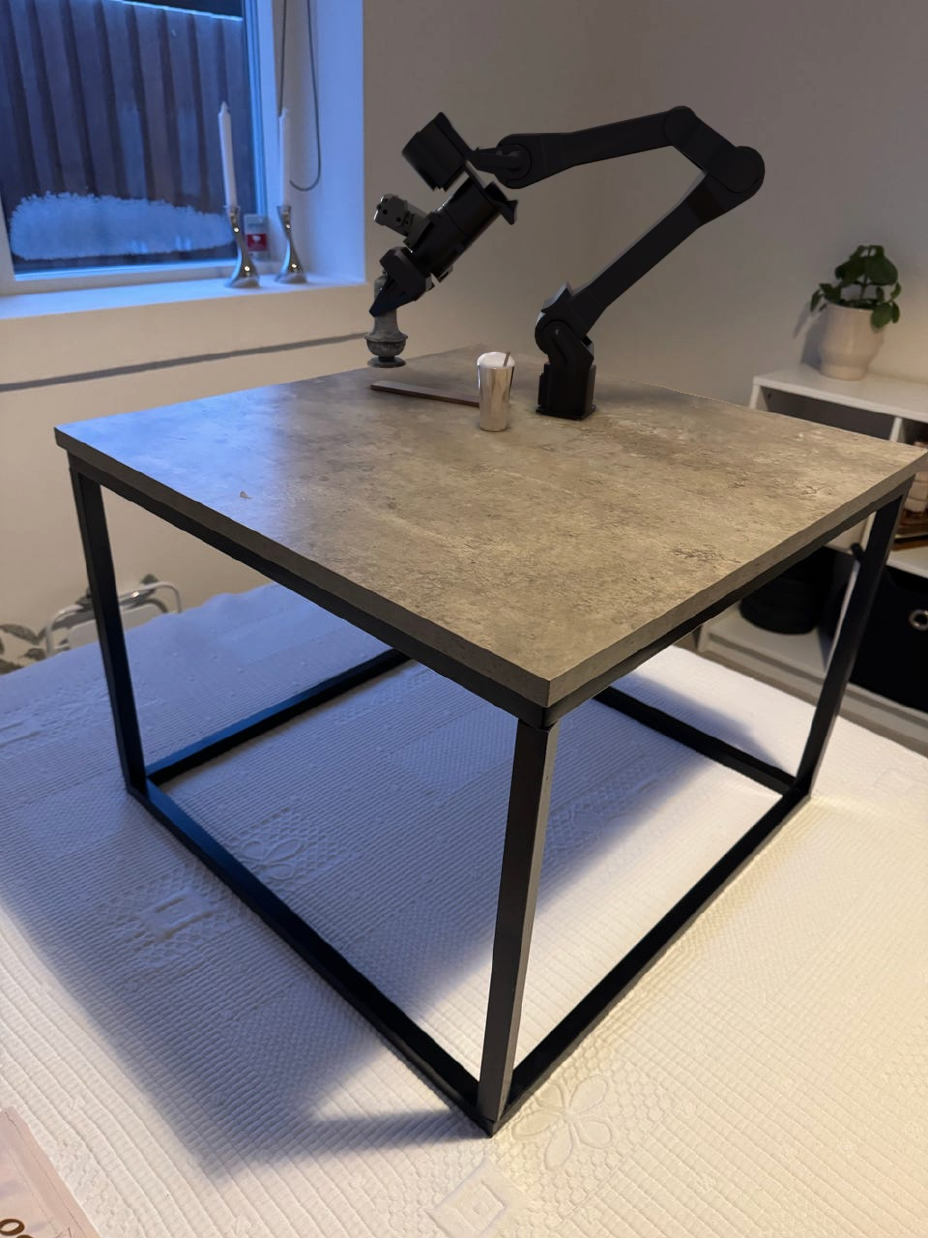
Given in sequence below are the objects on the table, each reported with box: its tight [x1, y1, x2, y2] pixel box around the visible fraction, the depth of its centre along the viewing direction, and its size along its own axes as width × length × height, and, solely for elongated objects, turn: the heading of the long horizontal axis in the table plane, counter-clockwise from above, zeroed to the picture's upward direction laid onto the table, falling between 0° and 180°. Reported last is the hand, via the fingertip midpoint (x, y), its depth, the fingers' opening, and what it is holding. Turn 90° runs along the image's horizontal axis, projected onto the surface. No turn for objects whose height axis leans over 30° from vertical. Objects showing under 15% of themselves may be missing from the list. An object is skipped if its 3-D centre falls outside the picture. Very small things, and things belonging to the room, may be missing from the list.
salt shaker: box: [363, 268, 409, 369], centre depth 112 cm, size 6×6×12 cm
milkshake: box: [476, 350, 516, 432], centre depth 105 cm, size 4×5×10 cm
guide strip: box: [370, 379, 480, 408], centre depth 119 cm, size 20×3×1 cm, turn 63°
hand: (375, 311), depth 112 cm, fingers closed on salt shaker, 3 cm apart
